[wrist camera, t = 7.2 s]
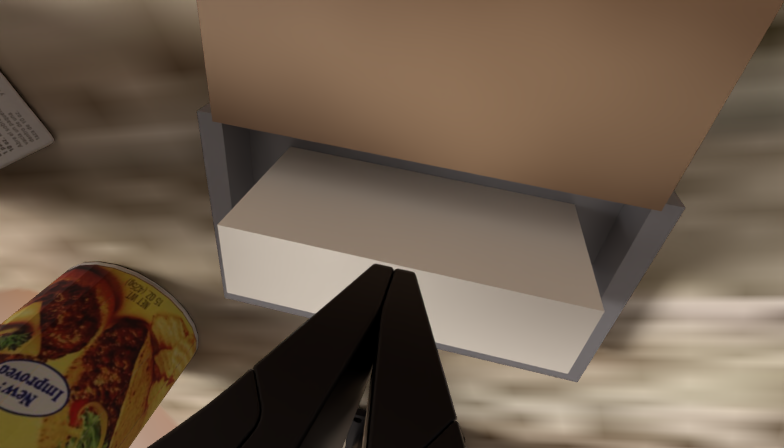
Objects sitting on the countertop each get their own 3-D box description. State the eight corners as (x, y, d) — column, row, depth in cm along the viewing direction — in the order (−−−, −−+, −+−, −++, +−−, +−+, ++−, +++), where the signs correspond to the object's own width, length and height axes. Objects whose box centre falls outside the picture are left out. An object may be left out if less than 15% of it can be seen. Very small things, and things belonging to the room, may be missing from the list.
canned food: (134, 247, 21) (-188, 534, 11) (226, 357, 24) (45, 645, 15) (34, 275, 23) (-292, 522, 14) (129, 370, 27) (-75, 617, 17)
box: (570, 342, 18) (577, 382, 17) (246, 267, 20) (224, 297, 18) (662, 174, 14) (685, 207, 12) (228, 90, 15) (196, 110, 13)
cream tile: (574, 204, 15) (549, 260, 16) (290, 146, 15) (291, 204, 17) (604, 311, 10) (567, 373, 12) (217, 224, 11) (227, 292, 13)
